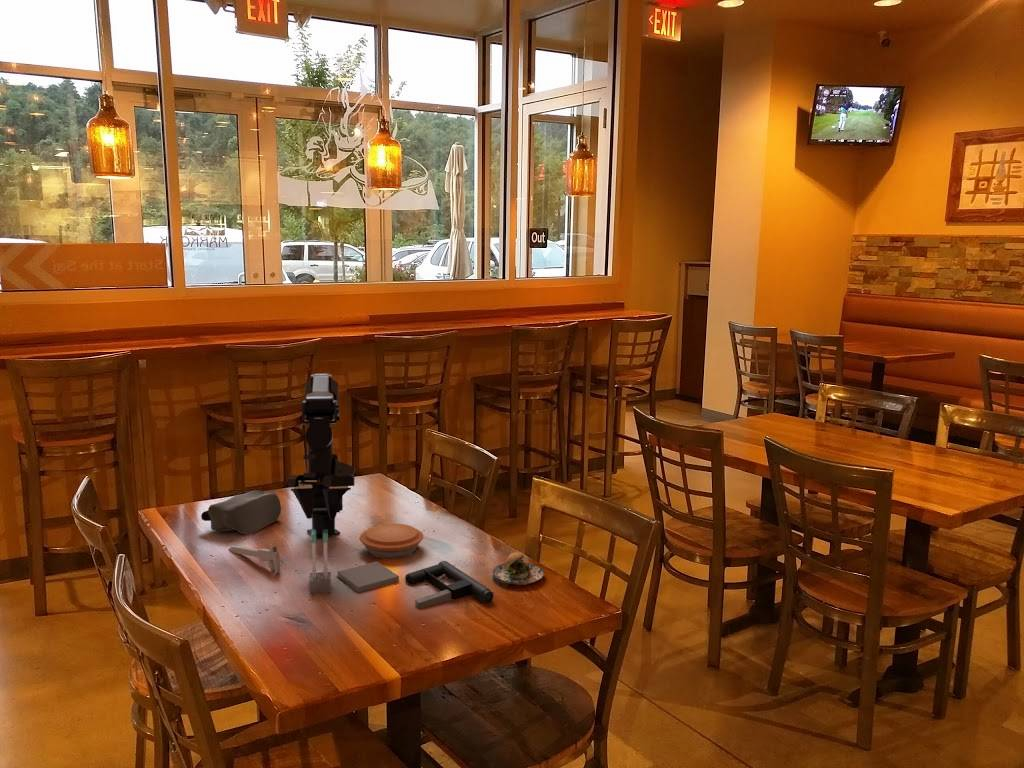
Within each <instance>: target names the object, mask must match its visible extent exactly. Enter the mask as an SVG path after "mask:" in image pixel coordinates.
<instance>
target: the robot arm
mask: <svg viewBox="0 0 1024 768" xmlns="http://www.w3.org/2000/svg"><path fill="white" fill-rule="evenodd" d="M304 386H305V388H304V389H305V391H304V393H305V394H304V398H305V399H304V400H303V401H302V411H301V424H302V425H308V427H307V430H306V431H305V440H306V442H307V444H306V447H307V452H306V453H307V454H303V460H307V461H306V462H307V463H306V464H307V472H304V473H303V474H294V475H293V474H291V475H290V476H289V477H288V478H287V488H290V491H291V492H293V494H294V495H295V498H296V500H297V502H298V503H299V505H300V507H301V509H302V511H303V514H304V515H305V517H306V519H308V520H309V519H310V520H311V529H307V530H306V533H307V534H309V535H310V536H311V532H312V530H316V540H320V539H323V529H328V538H329V537H335V536H339V535H341V531H340V530H338V529H336V517H337V514H338V513H341V511H343V507H344V506H343V501H344V500H343V496H344V495H345V494H346V493H347V492H348V491H351V489H352V487H354V486H355V485H356V483H355V482H356V481H355V476H354V475H355V471H356V467H355V466H352V465H350V464H347V463H344V462H343V461H342V462H341V461H339V456H338V454H337V453H334V430H333V428H332V427H331V425H333V424H334V425H337V422H339V421H340V405H339V402H340V401H339V400H340V399H339V383H338V382H337V381H336V380H335V379H333V378H332V374H329V373H313V374H311V376H310V379H309V380H308V381H307V382H305V385H304Z"/></svg>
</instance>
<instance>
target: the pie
mask: <svg viewBox="0 0 1024 768" xmlns="http://www.w3.org/2000/svg"><path fill="white" fill-rule="evenodd" d="M359 540H360V542H361V543H362V545H364V547H365V548H366V550H367V551H368V553H369V554H370V555H372V556H374V557H375V558H376V557H377V558H380V559H389V558H390V559H399V558H404V557H407V556H410V555H412V554H413V552H415V550H416V549H417V547H418V546H419V544H420V543H421V542H422V541H423V540H424V534H423V532H422V531H421V530H419V529H417V528H415V527H413V526H412V525H408V524H405V523H383V524H382V523H381V524H379V525H373V526H372V527H369V528H368V529H366V530H363V532H361V533H360V536H359Z"/></svg>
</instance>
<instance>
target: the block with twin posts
mask: <svg viewBox="0 0 1024 768" xmlns="http://www.w3.org/2000/svg"><path fill="white" fill-rule="evenodd" d="M310 540H311V558H312V561H311V562H312V563H311V565H312V572H309V579H308V580H309V582H308V583H309V586H308V587H309V588H308V589H309V595H325V594H331V593H332V571H329V570H328V566H329V565H328V564H329V563H328V540H329V537H328V529H323V538H322V543H323V572H317V543H316V542H317V539H316V530H312V532H311V535H310Z"/></svg>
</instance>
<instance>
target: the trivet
mask: <svg viewBox="0 0 1024 768" xmlns="http://www.w3.org/2000/svg"><path fill="white" fill-rule="evenodd" d="M336 573H337V577H338V579H340V580H342V581H343V582H344V583H346V584H347V585H348V586H349V587H351V588H352V589H353V590H354V591H355V592H358V593H361V592H364V591H368V590H371V589H376V588H378V587H383V586H387V585H390V584H393V583H397V582H400V576H399V575H398V574H396V573H395V572H393V571H392V570H391V569H389V568H388V567H386V566H385V565H383V564H382V563H380V562H379V561H373V562H369V563H365V564H362V565H358V566H354V567H350V568H345V569H342V570H338V571H337V572H336Z"/></svg>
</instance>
